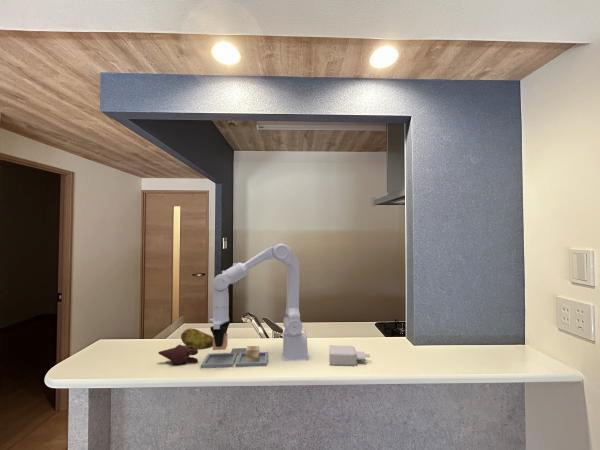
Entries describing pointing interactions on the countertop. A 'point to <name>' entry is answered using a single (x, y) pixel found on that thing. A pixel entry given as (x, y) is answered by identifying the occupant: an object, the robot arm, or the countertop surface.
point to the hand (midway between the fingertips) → (220, 344)
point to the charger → (345, 355)
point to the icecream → (180, 354)
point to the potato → (196, 339)
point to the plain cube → (252, 354)
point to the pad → (238, 350)
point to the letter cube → (222, 344)
